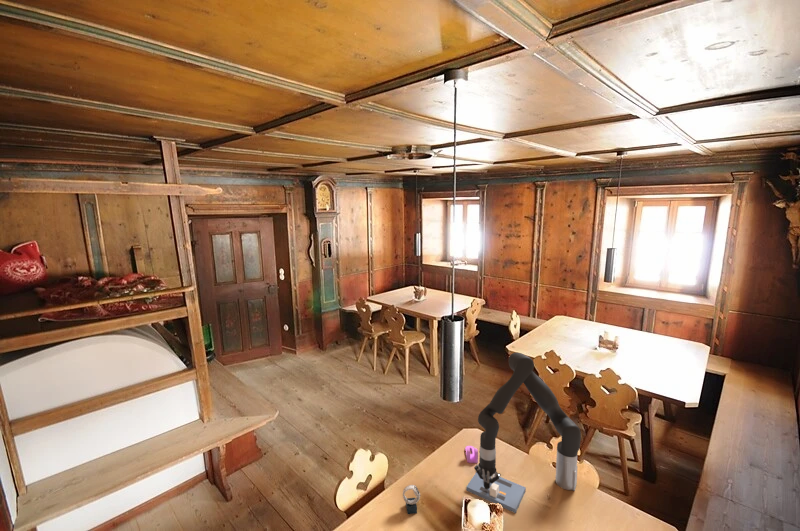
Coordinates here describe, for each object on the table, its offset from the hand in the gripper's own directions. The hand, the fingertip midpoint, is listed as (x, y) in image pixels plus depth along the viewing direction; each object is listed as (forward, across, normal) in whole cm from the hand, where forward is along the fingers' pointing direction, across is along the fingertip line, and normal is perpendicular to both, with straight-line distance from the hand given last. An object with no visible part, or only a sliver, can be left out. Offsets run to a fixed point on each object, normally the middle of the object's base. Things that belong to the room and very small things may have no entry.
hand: (486, 488), depth 167 cm
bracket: (+4, +18, -23) cm, 29 cm away
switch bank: (+3, -3, -5) cm, 6 cm away
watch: (+4, +25, +28) cm, 38 cm away
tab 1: (+1, +1, -10) cm, 10 cm away
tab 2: (+1, -4, 0) cm, 4 cm away
